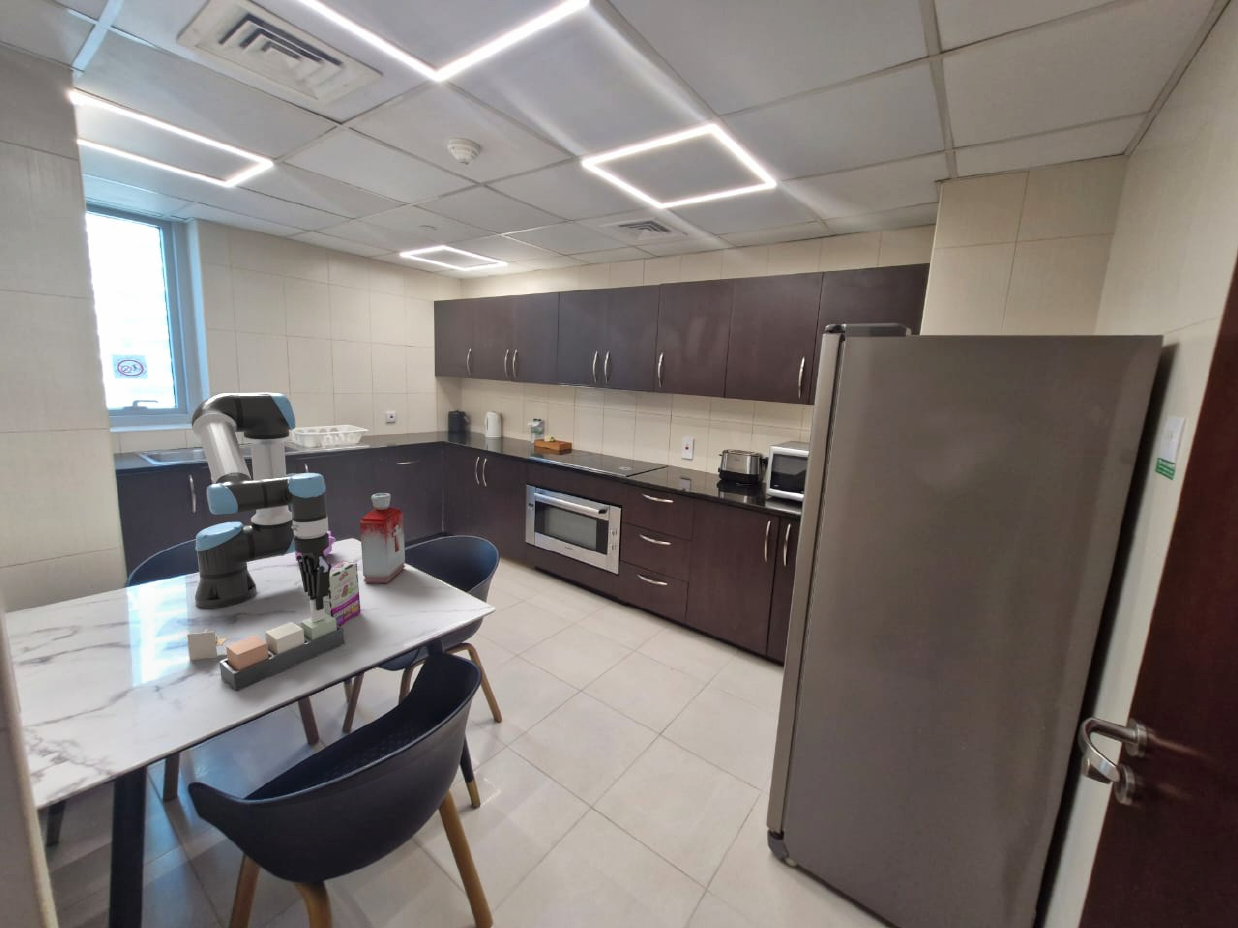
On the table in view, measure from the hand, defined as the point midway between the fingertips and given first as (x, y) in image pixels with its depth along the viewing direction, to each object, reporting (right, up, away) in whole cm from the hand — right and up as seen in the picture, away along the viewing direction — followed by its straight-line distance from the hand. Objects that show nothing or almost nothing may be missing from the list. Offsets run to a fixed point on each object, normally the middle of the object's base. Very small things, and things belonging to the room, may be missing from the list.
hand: (318, 619), depth 128 cm
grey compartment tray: (-5, -9, -5) cm, 11 cm away
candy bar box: (-3, -5, +15) cm, 16 cm away
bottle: (-4, +1, +46) cm, 46 cm away
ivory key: (-5, -6, -6) cm, 9 cm away
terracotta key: (-9, -7, -12) cm, 17 cm away
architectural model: (-26, -9, -5) cm, 28 cm away
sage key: (0, -5, +1) cm, 5 cm away
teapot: (-38, +4, +59) cm, 70 cm away
